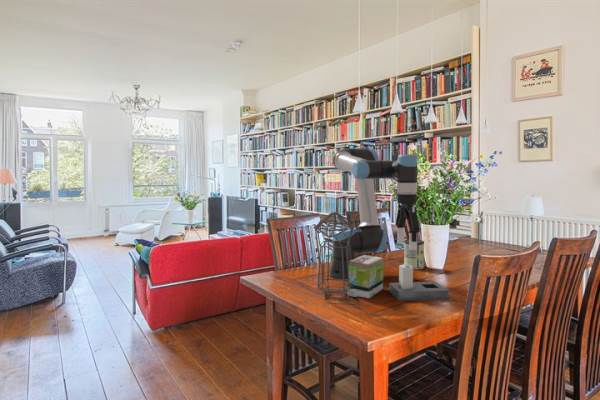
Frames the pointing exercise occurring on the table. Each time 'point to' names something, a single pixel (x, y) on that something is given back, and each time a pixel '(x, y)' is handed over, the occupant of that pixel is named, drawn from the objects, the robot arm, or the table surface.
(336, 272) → the robot arm
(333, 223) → the geometric lantern
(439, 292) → the block
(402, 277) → the plug
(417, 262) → the coffee can
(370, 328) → the table surface
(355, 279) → the tea box
